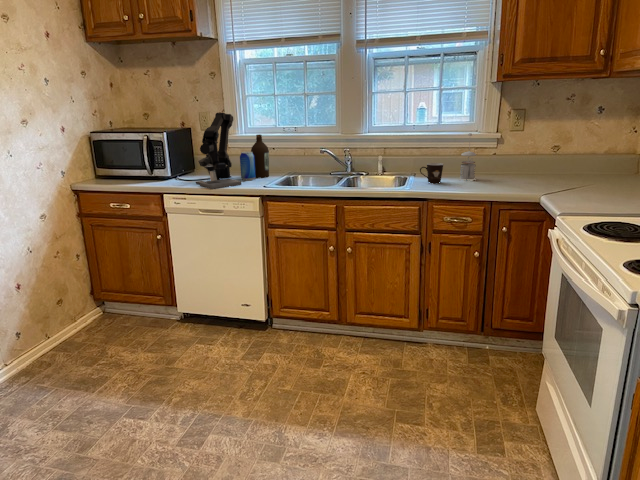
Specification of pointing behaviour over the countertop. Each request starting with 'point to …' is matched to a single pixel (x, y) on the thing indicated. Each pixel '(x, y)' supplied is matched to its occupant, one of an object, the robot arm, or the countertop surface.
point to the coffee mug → (433, 172)
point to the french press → (468, 165)
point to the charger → (213, 176)
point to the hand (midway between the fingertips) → (215, 179)
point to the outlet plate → (220, 183)
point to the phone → (199, 182)
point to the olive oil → (261, 158)
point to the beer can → (247, 166)
